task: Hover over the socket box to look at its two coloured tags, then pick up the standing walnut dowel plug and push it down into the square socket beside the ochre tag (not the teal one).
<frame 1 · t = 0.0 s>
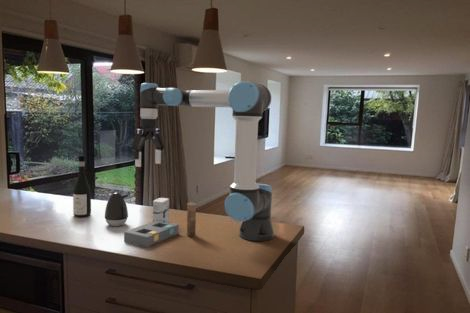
hand: (148, 165, 169), 28 cm above the worktop, fingers open, 13 cm apart
wine bottle: (82, 216, 184), on the worktop
ink box: (161, 224, 174), on the worktop
pump dispenser: (116, 225, 170), on the worktop
walnut plug: (191, 235, 159), on the worktop
socket box: (152, 237, 155), on the worktop
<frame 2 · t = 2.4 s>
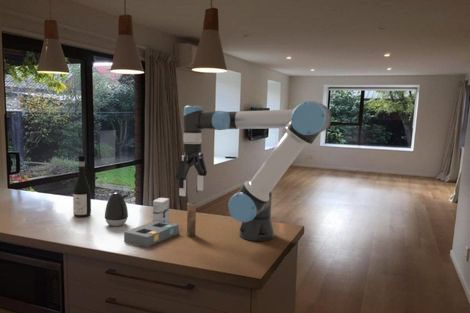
hand: (191, 193, 157), 18 cm above the worktop, fingers open, 13 cm apart
nothing on the worktop moved.
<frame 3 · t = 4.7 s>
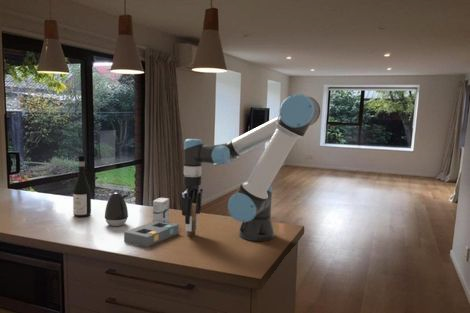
hand: (191, 229, 159), 3 cm above the worktop, fingers closed on walnut plug, 3 cm apart
walnut plug: (191, 235, 159), on the worktop, touching gripper
everything else where it was.
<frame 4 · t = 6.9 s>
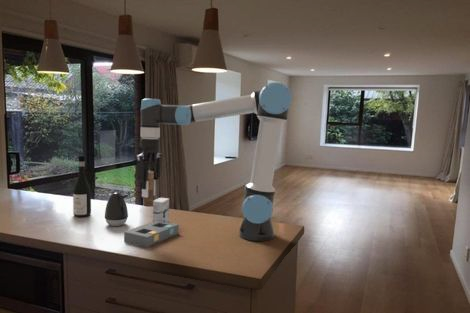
hand: (148, 196, 149), 18 cm above the worktop, fingers closed on walnut plug, 3 cm apart
walnut plug: (148, 205, 150), point 14 cm above the worktop, touching gripper
everything else where it was.
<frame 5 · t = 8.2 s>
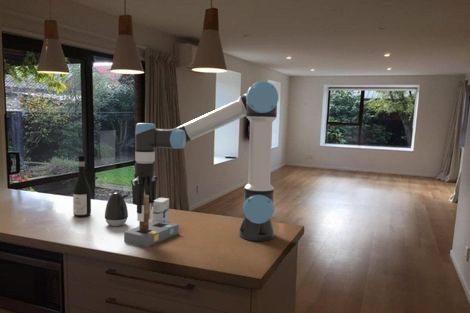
hand: (144, 219, 149), 9 cm above the worktop, fingers closed on walnut plug, 3 cm apart
walnut plug: (144, 229, 150), point 5 cm above the worktop, touching gripper
everything else where it was.
when the fingers open (5 cm above the worktop, at t = 9.1 s): walnut plug stays where it is, resting on socket box.
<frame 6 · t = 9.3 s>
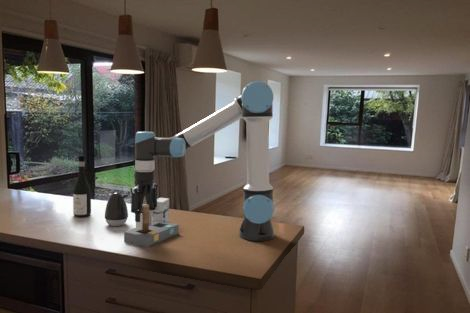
hand: (144, 227, 150), 6 cm above the worktop, fingers open, 5 cm apart
walnut plug: (144, 238, 150), point 1 cm above the worktop, touching socket box
everything else where it was.
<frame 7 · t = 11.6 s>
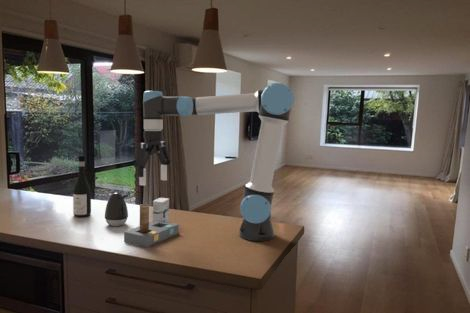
hand: (153, 182, 150), 24 cm above the worktop, fingers open, 13 cm apart
nothing on the worktop moved.
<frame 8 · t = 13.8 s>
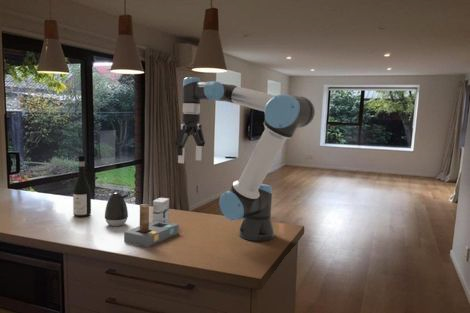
hand: (190, 161, 165), 31 cm above the worktop, fingers open, 13 cm apart
nothing on the worktop moved.
at the end: walnut plug 0.0 cm from the target spot on the socket box, point 0.8 cm above the socket box's base; the gripper is holding nothing; walnut plug tilted 0° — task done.
